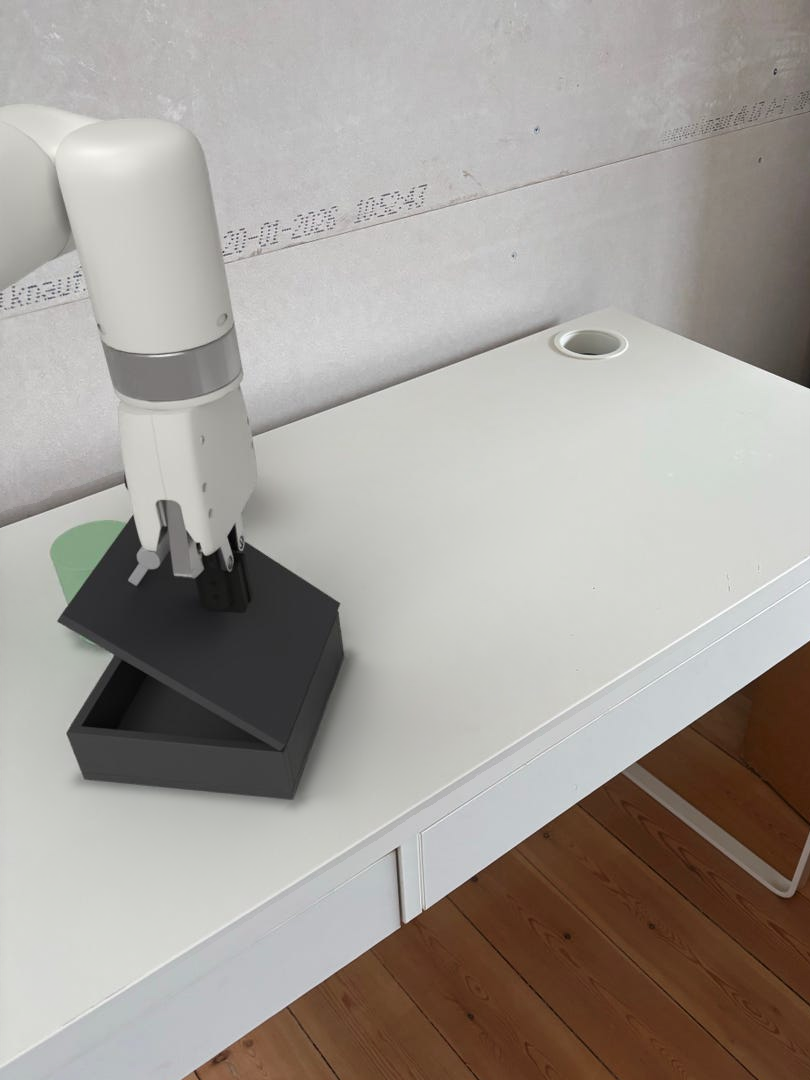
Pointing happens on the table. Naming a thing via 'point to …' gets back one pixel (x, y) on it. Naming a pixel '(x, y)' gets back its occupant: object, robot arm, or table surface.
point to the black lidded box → (192, 734)
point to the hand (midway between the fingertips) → (228, 604)
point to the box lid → (208, 633)
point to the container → (82, 554)
